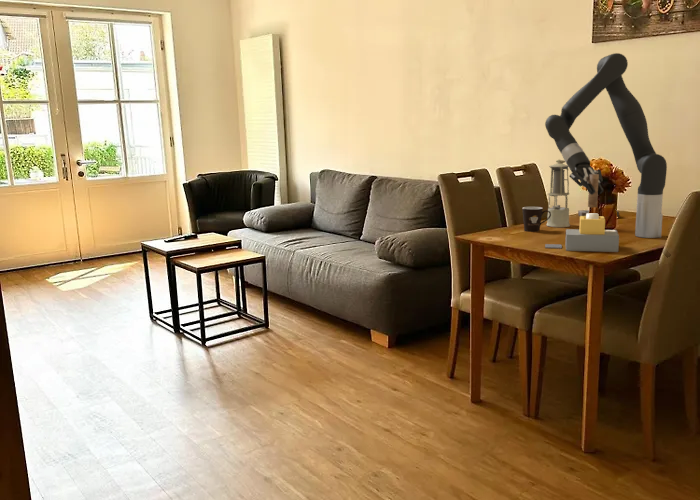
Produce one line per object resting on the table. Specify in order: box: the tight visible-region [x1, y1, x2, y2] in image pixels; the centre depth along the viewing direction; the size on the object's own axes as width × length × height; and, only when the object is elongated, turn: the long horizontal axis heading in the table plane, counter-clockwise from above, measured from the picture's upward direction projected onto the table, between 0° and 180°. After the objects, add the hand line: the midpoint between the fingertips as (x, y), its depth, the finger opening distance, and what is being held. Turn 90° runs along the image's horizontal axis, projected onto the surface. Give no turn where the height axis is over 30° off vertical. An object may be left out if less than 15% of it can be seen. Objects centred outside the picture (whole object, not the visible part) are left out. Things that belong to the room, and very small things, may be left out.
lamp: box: [546, 159, 571, 228], centre depth 289 cm, size 10×13×30 cm
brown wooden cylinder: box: [587, 174, 599, 208], centre depth 236 cm, size 3×3×12 cm
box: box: [577, 209, 620, 218], centre depth 312 cm, size 11×17×3 cm, turn 80°
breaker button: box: [586, 213, 599, 219], centre depth 238 cm, size 4×4×8 cm
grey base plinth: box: [564, 216, 620, 253], centre depth 239 cm, size 18×12×12 cm, turn 73°
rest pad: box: [544, 243, 562, 250], centre depth 244 cm, size 6×6×1 cm
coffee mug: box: [521, 206, 551, 233], centre depth 279 cm, size 12×9×10 cm
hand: (597, 192), depth 234 cm, fingers closed on brown wooden cylinder, 3 cm apart
